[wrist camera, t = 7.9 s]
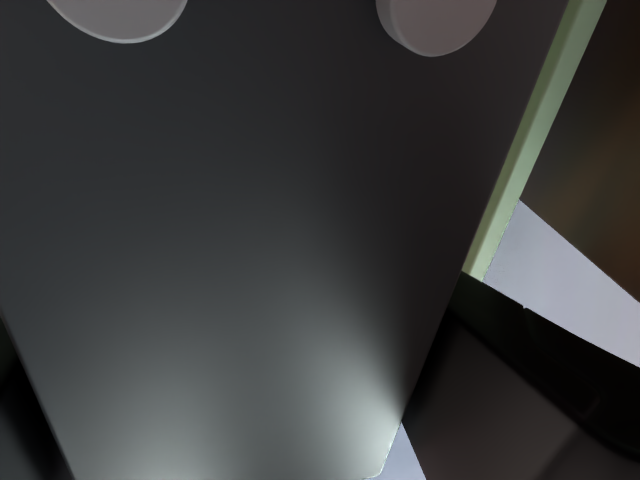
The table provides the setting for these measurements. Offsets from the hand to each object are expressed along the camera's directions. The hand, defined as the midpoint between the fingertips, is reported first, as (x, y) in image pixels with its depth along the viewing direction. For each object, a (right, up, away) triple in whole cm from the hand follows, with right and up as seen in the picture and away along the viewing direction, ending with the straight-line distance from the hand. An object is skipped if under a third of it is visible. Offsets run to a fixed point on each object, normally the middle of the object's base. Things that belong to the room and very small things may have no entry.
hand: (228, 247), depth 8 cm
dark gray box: (+1, +3, -3) cm, 5 cm away
